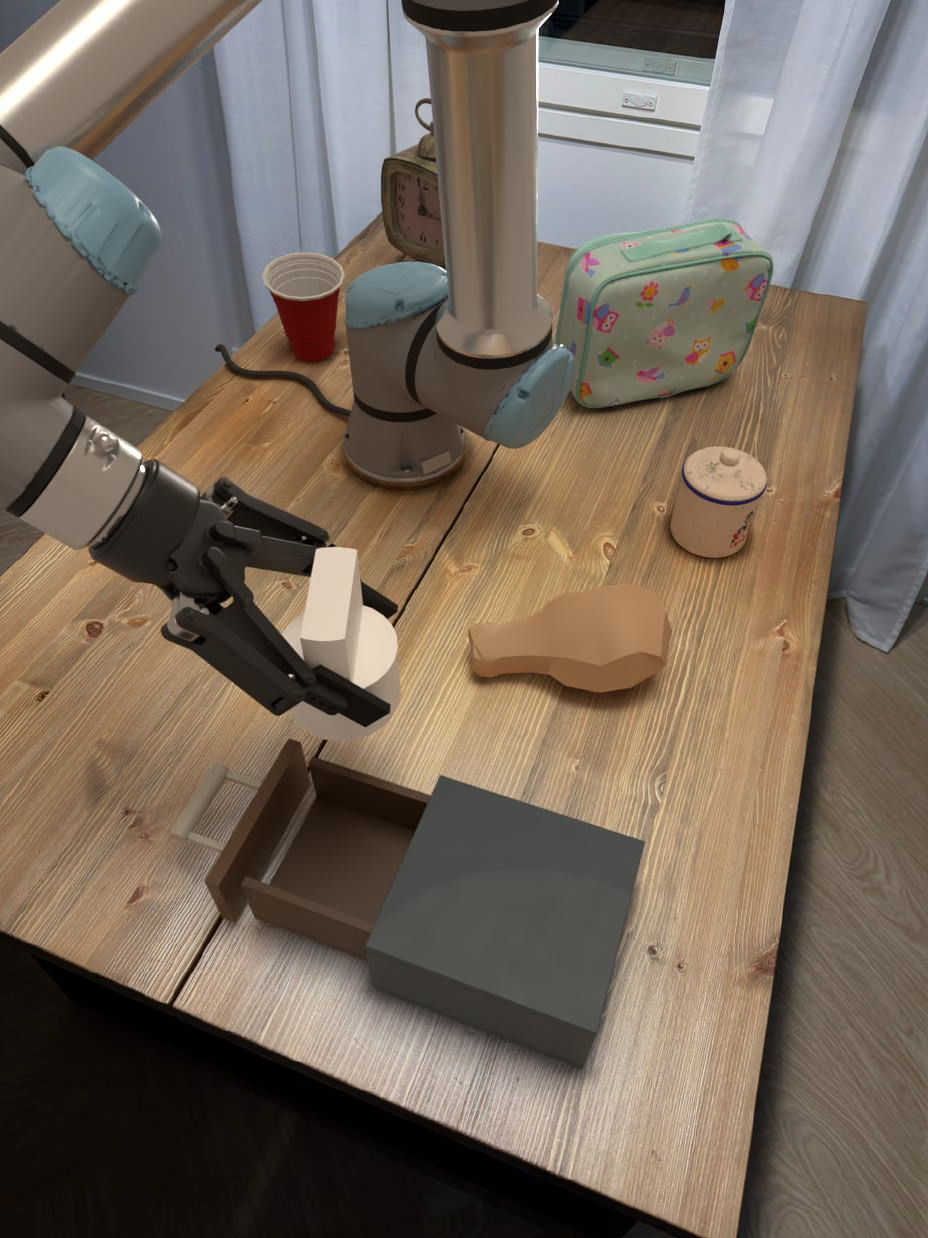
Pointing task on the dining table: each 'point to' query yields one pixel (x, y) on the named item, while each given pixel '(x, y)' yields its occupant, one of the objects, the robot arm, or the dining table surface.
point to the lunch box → (661, 310)
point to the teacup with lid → (717, 501)
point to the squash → (580, 640)
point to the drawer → (309, 847)
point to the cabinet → (506, 919)
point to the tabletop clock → (414, 200)
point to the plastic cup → (306, 301)
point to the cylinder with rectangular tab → (344, 643)
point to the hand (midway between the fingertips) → (382, 663)
